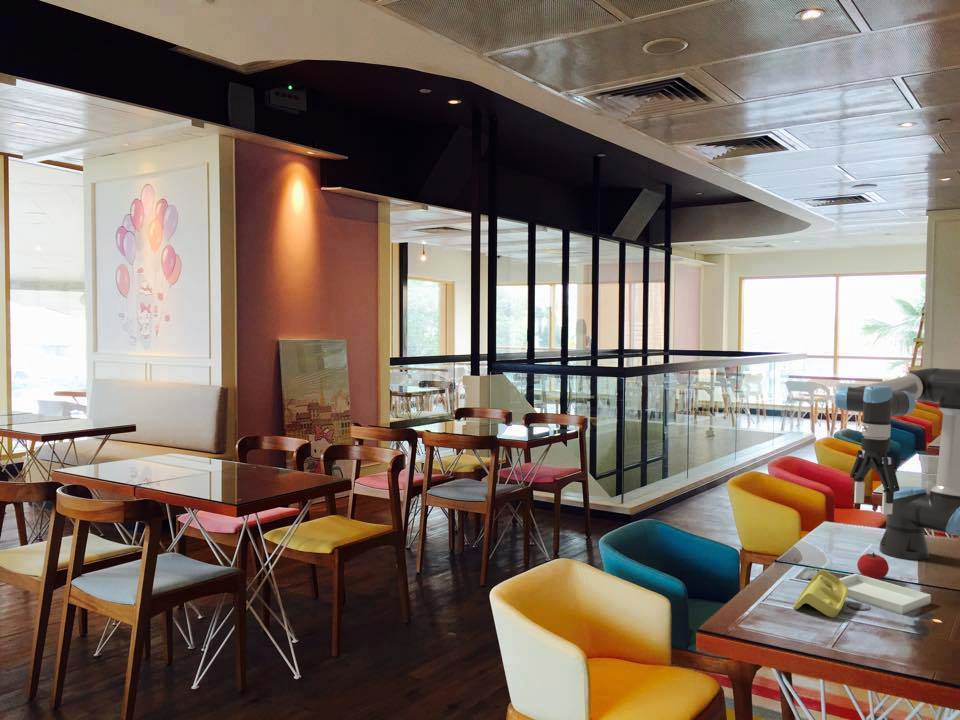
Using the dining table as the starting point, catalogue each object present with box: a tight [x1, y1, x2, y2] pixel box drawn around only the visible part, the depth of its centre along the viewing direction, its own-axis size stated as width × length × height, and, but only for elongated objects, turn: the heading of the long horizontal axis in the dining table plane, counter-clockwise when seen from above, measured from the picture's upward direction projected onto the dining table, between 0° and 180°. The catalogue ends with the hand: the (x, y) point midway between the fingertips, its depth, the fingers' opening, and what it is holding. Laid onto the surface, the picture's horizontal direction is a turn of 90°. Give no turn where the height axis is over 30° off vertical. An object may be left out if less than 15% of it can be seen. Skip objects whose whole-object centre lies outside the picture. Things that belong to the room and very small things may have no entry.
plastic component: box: [792, 569, 848, 618], centre depth 221 cm, size 20×7×10 cm
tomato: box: [856, 552, 890, 580], centre depth 245 cm, size 9×9×8 cm
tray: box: [839, 573, 932, 615], centre depth 228 cm, size 16×22×2 cm
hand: (872, 508), depth 236 cm, fingers open, 13 cm apart
